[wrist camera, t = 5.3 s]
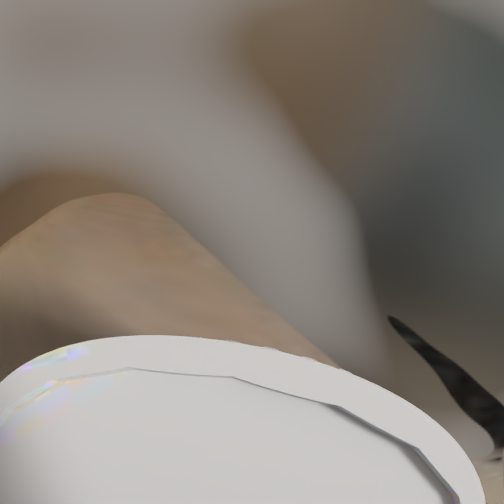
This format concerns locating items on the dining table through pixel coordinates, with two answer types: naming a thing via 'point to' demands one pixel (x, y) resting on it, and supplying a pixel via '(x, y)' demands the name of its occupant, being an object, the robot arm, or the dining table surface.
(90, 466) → the bottle
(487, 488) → the dining table surface
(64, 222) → the dining table surface
